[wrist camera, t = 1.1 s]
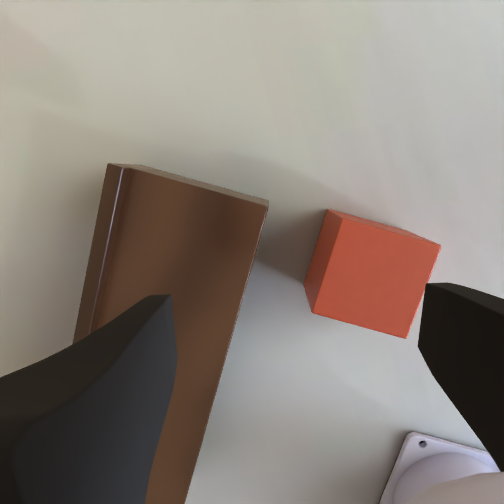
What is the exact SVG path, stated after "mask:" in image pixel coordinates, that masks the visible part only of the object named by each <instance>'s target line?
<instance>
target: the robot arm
mask: <svg viewBox="0 0 504 504" xmlns="http://www.w3.org/2000/svg"><path fill="white" fill-rule="evenodd" d="M418 348H419V350H420V352H421V354H422V356H423V358H424V360H425V362H426V364H427V366H428V367H429V369H430V371H431V373H432V375H433V376H434V378H435V379H436V381H437V382H438V383H439V385H440V386H441V388H442V389H443V390H444V392H445V393H446V395H447V396H448V397H449V399H450V400H451V401H452V403H453V404H454V405H455V407H456V408H457V410H458V411H459V412H460V414H461V415H462V416H463V418H464V419H465V420H466V422H467V423H468V424H469V426H470V427H471V429H472V430H473V431H474V433H475V434H476V435H477V437H478V438H479V439H480V441H481V442H482V444H483V445H484V447H485V448H486V450H487V451H488V452H486V451H483V450H479V449H476V448H472V447H468V446H465V445H461V444H457V443H454V442H450V441H446V440H443V439H439V438H435V437H432V436H428V435H424V434H421V433H417V432H411V433H409V434H408V435H407V436H406V439H405V441H404V443H403V446H402V448H401V451H400V453H399V456H398V458H397V461H396V463H395V466H394V468H393V471H392V473H391V476H390V478H389V481H388V483H387V486H386V488H385V491H384V493H383V496H382V498H381V500H380V503H379V504H504V299H502V298H499V297H496V296H493V295H490V294H487V293H484V292H481V291H478V290H475V289H471V288H468V287H465V286H461V285H457V284H452V283H426V285H425V293H424V301H423V309H422V317H421V324H420V332H419V340H418ZM177 359H178V356H177V346H176V336H175V326H174V316H173V306H172V297H171V294H165V295H149V296H147V297H145V298H143V299H142V300H140V301H139V302H137V303H136V304H134V305H133V306H132V307H130V308H129V309H127V310H126V311H124V312H123V313H122V314H120V315H119V316H117V317H116V318H114V319H113V320H112V321H110V322H109V323H107V324H106V325H104V326H102V327H101V328H99V329H98V330H96V331H94V332H93V333H91V334H90V335H88V336H86V337H85V338H83V339H82V340H80V341H78V342H76V343H75V344H73V345H71V346H69V347H67V348H66V349H64V350H62V351H60V352H58V353H56V354H54V355H52V356H50V357H48V358H46V359H43V360H41V361H39V362H37V363H34V364H32V365H30V366H27V367H25V368H22V369H20V370H17V371H15V372H13V373H10V374H8V375H5V376H3V377H0V504H145V500H146V494H147V488H148V482H149V477H150V473H151V469H152V464H153V460H154V456H155V453H156V449H157V446H158V442H159V439H160V435H161V432H162V428H163V425H164V421H165V418H166V414H167V410H168V407H169V403H170V400H171V396H172V392H173V388H174V382H175V375H176V367H177ZM420 441H424V442H423V443H421V444H419V442H420Z"/></svg>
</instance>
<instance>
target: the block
mask: <svg viewBox="0 0 504 504" xmlns="http://www.w3.org/2000/svg"><path fill="white" fill-rule="evenodd" d="M440 249H441V245H439V244H437V243H434V242H432V241H430V240H427V239H425V238H423V237H420V236H418V235H416V234H413V233H411V232H409V231H406V230H403V229H399V228H396V227H392V226H388V225H385V224H381V223H378V222H374V221H371V220H367V219H363V218H360V217H356V216H353V215H349V214H346V213H342V212H338V211H335V210H331V209H327V212H326V215H325V218H324V221H323V224H322V228H321V231H320V234H319V237H318V240H317V244H316V247H315V250H314V253H313V256H312V259H311V263H310V266H309V269H308V272H307V275H306V279H305V282H304V288H305V292H306V295H307V298H308V302H309V305H310V308H311V312H312V313H314V314H318V315H321V316H325V317H328V318H332V319H336V320H339V321H343V322H346V323H350V324H354V325H357V326H361V327H365V328H368V329H372V330H375V331H379V332H383V333H386V334H390V335H393V336H397V337H401V338H404V339H406V338H407V336H408V333H409V331H410V328H411V325H412V323H413V320H414V318H415V315H416V312H417V310H418V307H419V305H420V302H421V299H422V297H423V294H424V291H425V285H426V283H428V281H429V278H430V276H431V273H432V270H433V268H434V265H435V263H436V260H437V257H438V255H439V252H440Z"/></svg>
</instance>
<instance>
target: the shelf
mask: <svg viewBox="0 0 504 504" xmlns="http://www.w3.org/2000/svg"><path fill="white" fill-rule="evenodd" d="M267 211H268V200H264V199H261V198H257V197H254V196H250V195H246V194H243V193H239V192H236V191H232V190H229V189H225V188H221V187H218V186H214V185H211V184H207V183H204V182H200V181H196V180H193V179H189V178H186V177H182V176H179V175H175V174H171V173H168V172H164V171H161V170H157V169H154V168H150V167H146V166H143V165H131V164H112V163H108V164H107V169H106V174H105V179H104V185H103V190H102V195H101V200H100V205H99V210H98V215H97V221H96V226H95V231H94V236H93V241H92V246H91V252H90V257H89V262H88V267H87V272H86V277H85V282H84V288H83V293H82V298H81V303H80V308H79V313H78V319H77V324H76V329H75V334H74V339H73V344H75V343H76V342H78V341H80V340H82V339H83V338H85V337H86V336H88V335H90V334H91V333H93V332H94V331H96V330H98V329H99V328H101V327H102V326H104V325H106V324H107V323H109V322H110V321H112V320H113V319H114V318H116V317H117V316H119V315H120V314H122V313H123V312H124V311H126V310H127V309H129V308H130V307H132V306H133V305H134V304H136V303H137V302H139V301H140V300H142V299H143V298H145V297H147V296H149V295H165V294H171V297H172V306H173V316H174V326H175V336H176V346H177V356H178V359H177V367H176V375H175V382H174V388H173V392H172V396H171V400H170V403H169V407H168V410H167V414H166V418H165V421H164V425H163V428H162V432H161V435H160V439H159V442H158V446H157V449H156V453H155V456H154V460H153V464H152V469H151V473H150V477H149V482H148V488H147V494H146V500H145V504H185V501H186V497H187V494H188V490H189V486H190V483H191V479H192V476H193V472H194V469H195V465H196V462H197V458H198V455H199V451H200V448H201V444H202V441H203V437H204V433H205V430H206V426H207V423H208V419H209V416H210V412H211V409H212V405H213V402H214V398H215V395H216V391H217V387H218V384H219V380H220V377H221V373H222V370H223V366H224V363H225V359H226V356H227V352H228V349H229V345H230V342H231V338H232V334H233V331H234V327H235V324H236V320H237V317H238V313H239V310H240V306H241V303H242V299H243V296H244V292H245V288H246V285H247V281H248V278H249V274H250V271H251V267H252V264H253V260H254V257H255V253H256V250H257V246H258V243H259V239H260V235H261V232H262V228H263V225H264V221H265V218H266V214H267ZM73 344H72V345H73Z"/></svg>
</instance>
